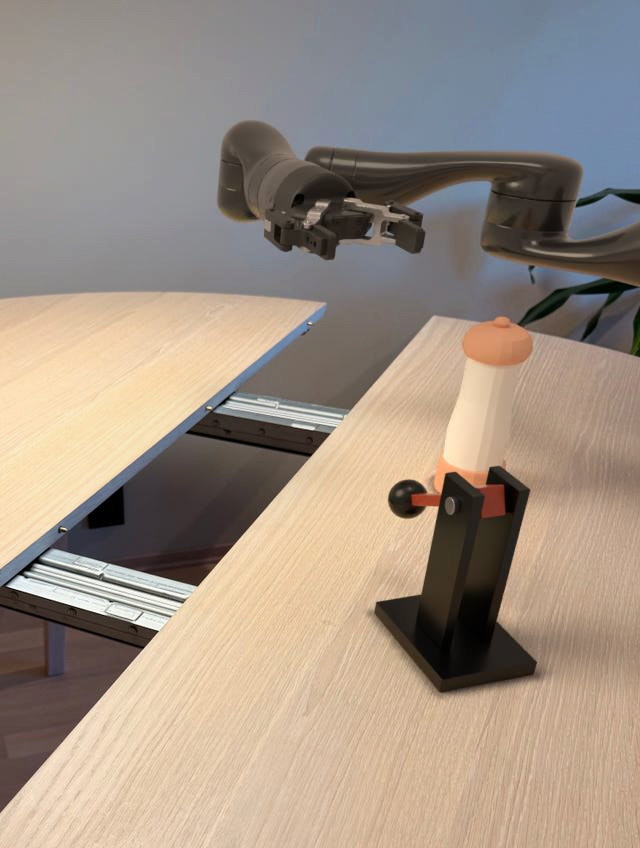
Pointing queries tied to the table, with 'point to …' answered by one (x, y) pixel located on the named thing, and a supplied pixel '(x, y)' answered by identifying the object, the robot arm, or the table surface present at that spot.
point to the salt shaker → (484, 401)
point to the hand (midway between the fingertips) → (376, 245)
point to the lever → (438, 499)
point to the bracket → (464, 590)
